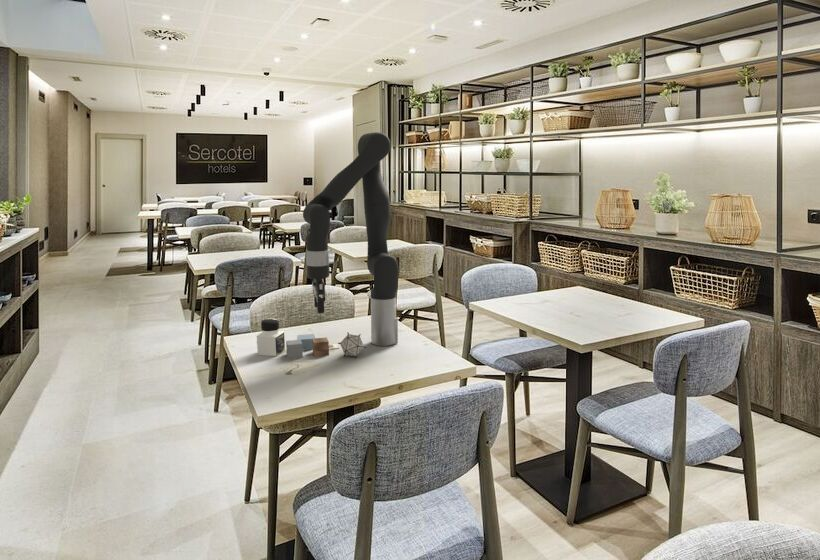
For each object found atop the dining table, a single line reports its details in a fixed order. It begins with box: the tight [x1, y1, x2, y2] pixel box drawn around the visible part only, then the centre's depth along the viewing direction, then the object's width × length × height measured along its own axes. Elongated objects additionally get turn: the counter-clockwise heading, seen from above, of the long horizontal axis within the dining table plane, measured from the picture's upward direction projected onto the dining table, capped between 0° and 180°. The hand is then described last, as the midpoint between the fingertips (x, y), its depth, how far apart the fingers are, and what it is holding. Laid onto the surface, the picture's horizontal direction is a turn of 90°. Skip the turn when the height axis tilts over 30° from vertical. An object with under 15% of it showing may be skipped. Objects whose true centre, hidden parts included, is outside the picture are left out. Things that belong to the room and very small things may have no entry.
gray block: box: [285, 339, 304, 360], centre depth 194 cm, size 5×5×5 cm
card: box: [329, 343, 340, 350], centre depth 204 cm, size 6×4×1 cm
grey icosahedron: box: [337, 332, 367, 359], centre depth 193 cm, size 9×8×10 cm
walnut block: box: [312, 336, 330, 357], centre depth 197 cm, size 5×5×5 cm
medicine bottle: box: [256, 317, 286, 357], centre depth 197 cm, size 7×7×12 cm
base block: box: [297, 333, 316, 351], centre depth 204 cm, size 6×6×4 cm
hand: (319, 310), depth 194 cm, fingers open, 8 cm apart
